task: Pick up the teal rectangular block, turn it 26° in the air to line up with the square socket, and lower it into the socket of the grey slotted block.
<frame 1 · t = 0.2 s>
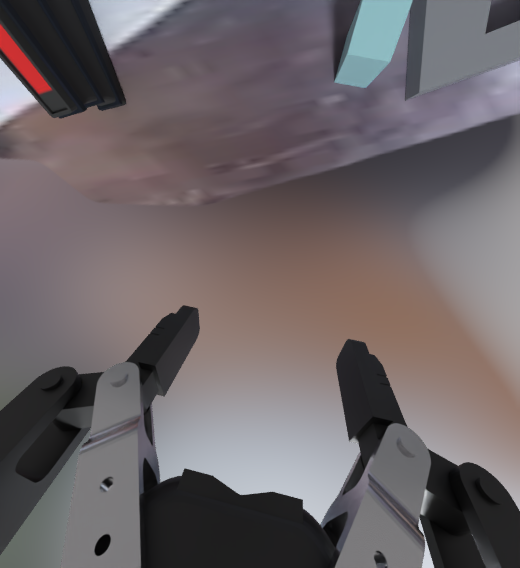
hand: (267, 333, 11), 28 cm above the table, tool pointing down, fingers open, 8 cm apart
grey slotted block: (499, 0, 20), on the table
teal rectangular block: (356, 62, 24), on the table
black ridged block: (105, 69, 28), on the table
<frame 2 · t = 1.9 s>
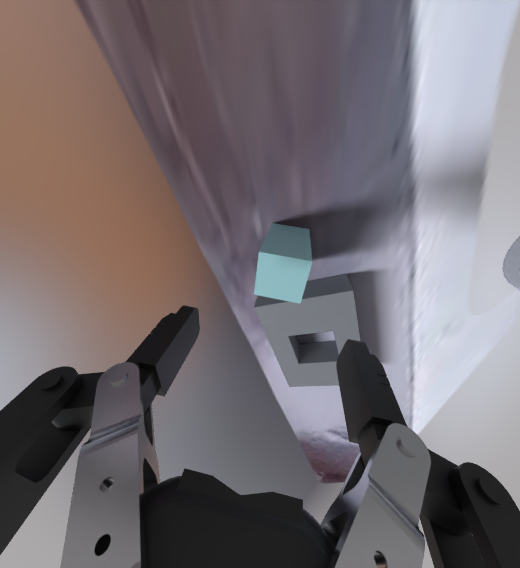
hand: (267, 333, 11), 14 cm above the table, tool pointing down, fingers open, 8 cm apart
grey slotted block: (313, 329, 28), on the table
teal rectangular block: (287, 243, 22), on the table
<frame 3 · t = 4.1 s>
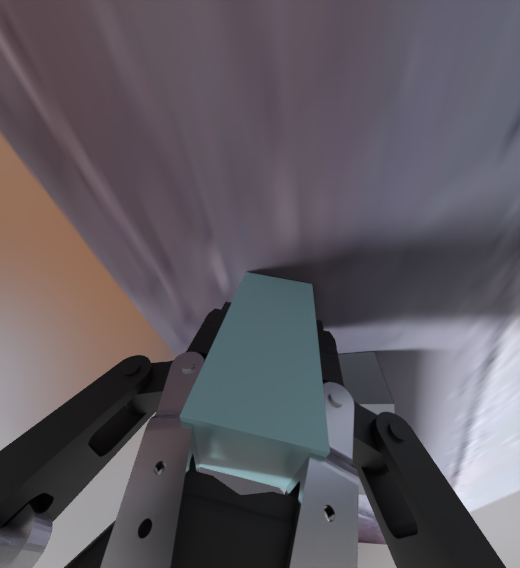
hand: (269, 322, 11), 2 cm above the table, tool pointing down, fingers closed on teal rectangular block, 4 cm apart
grey slotted block: (315, 412, 19), on the table
teal rectangular block: (273, 303, 13), on the table, touching gripper
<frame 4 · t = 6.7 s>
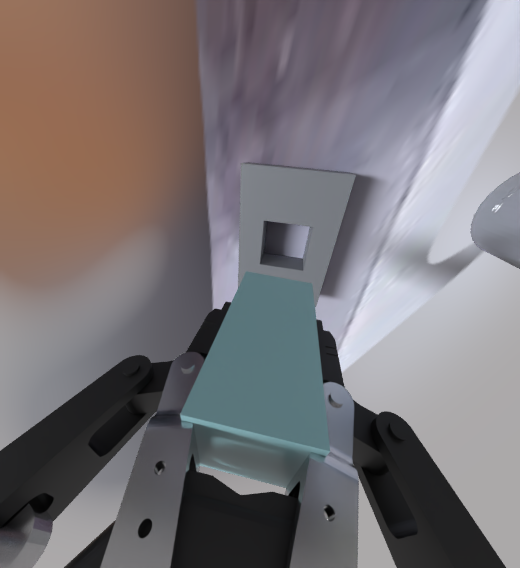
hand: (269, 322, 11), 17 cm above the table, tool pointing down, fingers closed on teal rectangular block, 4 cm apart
grey slotted block: (286, 237, 26), on the table
teal rectangular block: (273, 303, 13), point 15 cm above the table, touching gripper
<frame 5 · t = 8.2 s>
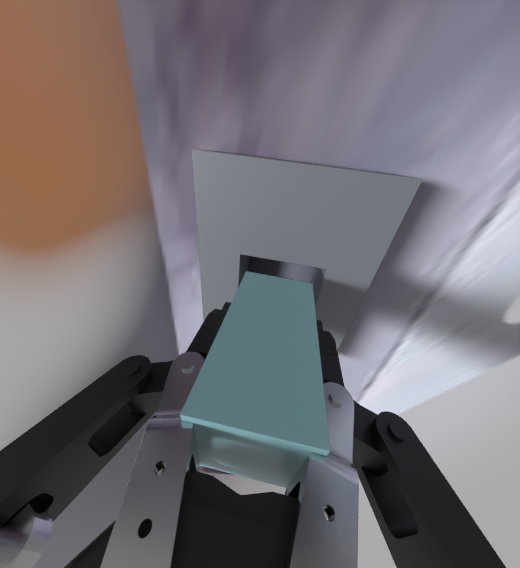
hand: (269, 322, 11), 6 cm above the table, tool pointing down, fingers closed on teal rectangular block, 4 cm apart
grey slotted block: (280, 272, 17), on the table
teal rectangular block: (273, 303, 13), point 5 cm above the table, touching gripper
when the fingers open (4 cm above the table, at t = 9.3 s): teal rectangular block drops 2 cm, resting in grey slotted block.
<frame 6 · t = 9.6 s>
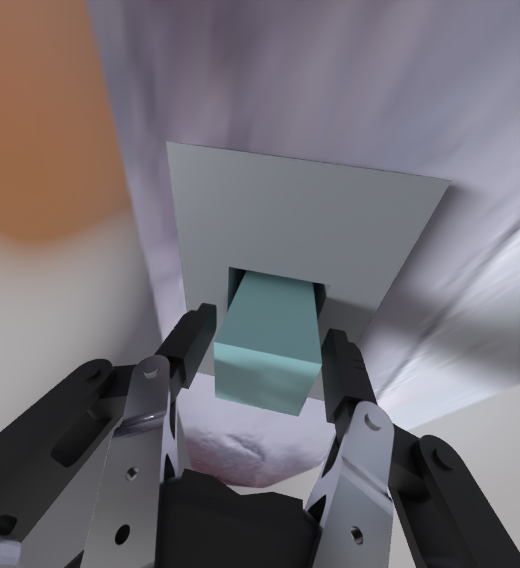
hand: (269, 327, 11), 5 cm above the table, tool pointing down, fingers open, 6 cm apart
grey slotted block: (276, 283, 15), on the table
teal rectangular block: (277, 282, 15), resting in grey slotted block
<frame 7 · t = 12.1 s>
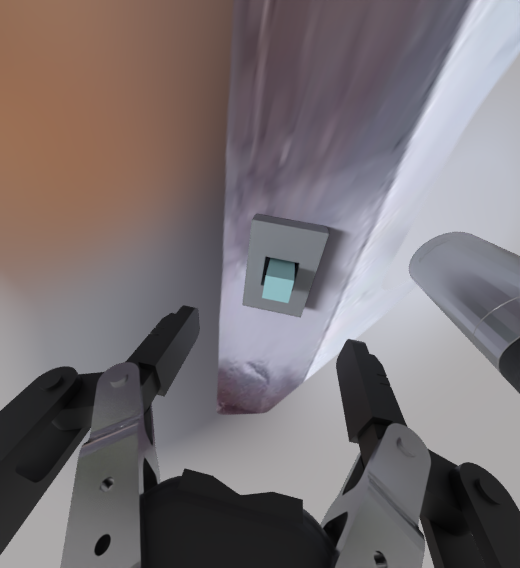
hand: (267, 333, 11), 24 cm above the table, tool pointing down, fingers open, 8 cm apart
grey slotted block: (280, 264, 35), on the table
teal rectangular block: (281, 264, 35), resting in grey slotted block
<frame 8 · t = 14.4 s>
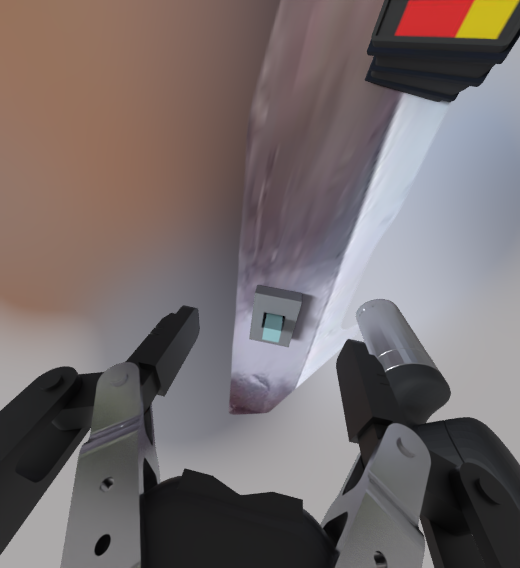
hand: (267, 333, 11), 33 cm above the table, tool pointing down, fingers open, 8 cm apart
grey slotted block: (274, 313, 53), on the table
teal rectangular block: (274, 313, 53), resting in grey slotted block
black ridged block: (400, 75, 27), on the table
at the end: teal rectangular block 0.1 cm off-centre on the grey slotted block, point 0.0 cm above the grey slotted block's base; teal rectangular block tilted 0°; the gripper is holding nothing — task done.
